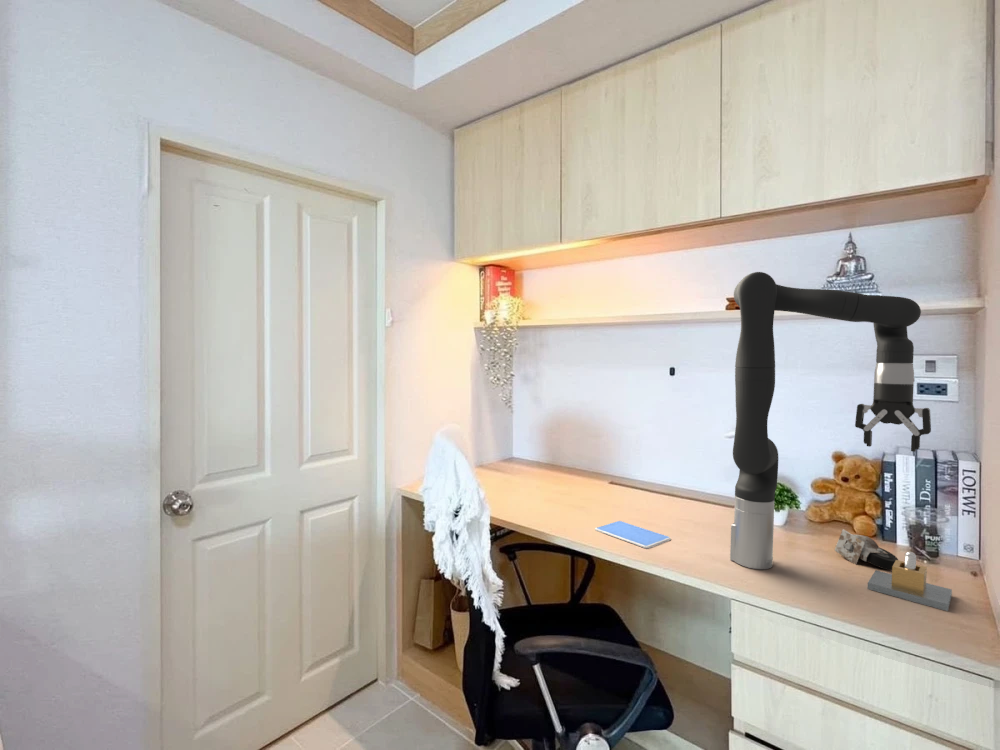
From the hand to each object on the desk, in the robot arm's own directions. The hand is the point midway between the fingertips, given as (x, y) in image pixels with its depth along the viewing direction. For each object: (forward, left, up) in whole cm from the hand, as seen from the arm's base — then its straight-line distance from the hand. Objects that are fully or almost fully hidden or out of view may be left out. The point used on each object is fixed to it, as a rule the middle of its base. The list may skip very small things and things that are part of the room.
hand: (890, 448), depth 120 cm
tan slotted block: (+5, -5, -31) cm, 31 cm away
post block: (+5, -5, -32) cm, 33 cm away
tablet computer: (-59, -19, -33) cm, 70 cm away
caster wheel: (-5, +9, -32) cm, 34 cm away
